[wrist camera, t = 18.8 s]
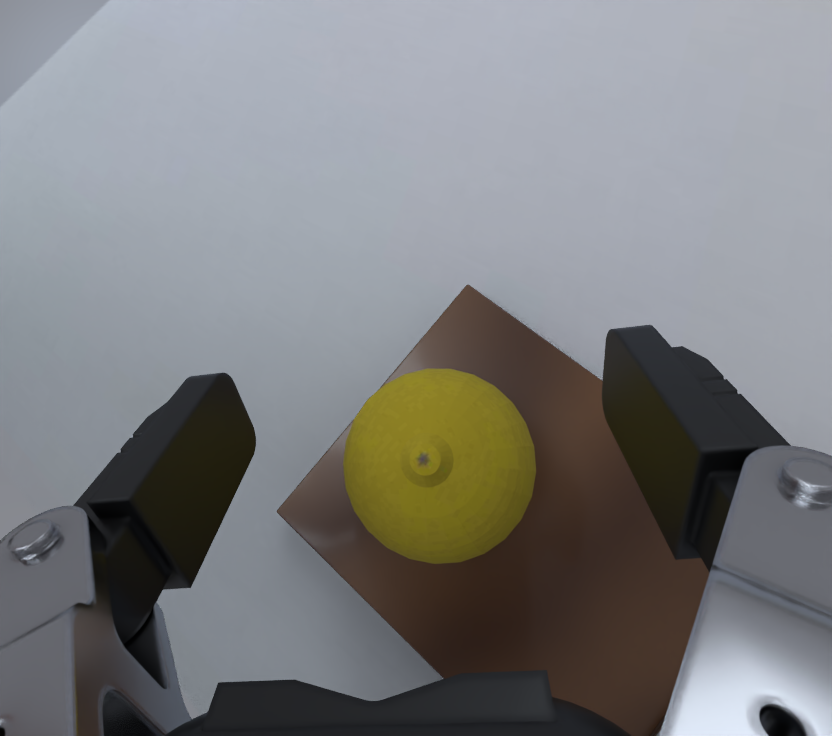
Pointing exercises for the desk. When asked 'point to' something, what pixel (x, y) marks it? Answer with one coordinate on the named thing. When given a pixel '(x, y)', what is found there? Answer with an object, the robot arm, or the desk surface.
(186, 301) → the desk surface
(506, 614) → the cutting board
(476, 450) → the lemon
